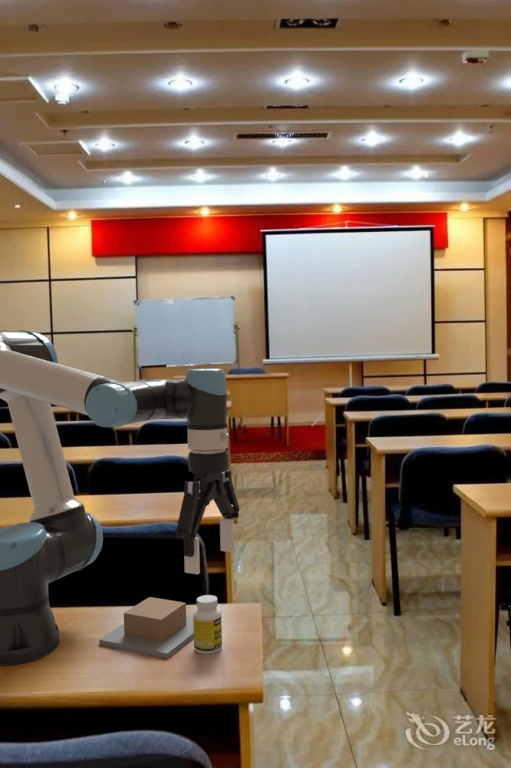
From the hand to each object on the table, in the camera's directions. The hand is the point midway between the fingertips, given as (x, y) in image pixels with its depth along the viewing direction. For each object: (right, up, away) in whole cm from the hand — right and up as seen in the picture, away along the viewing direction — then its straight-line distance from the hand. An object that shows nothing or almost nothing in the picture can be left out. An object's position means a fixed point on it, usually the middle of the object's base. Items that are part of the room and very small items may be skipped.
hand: (210, 561), depth 121 cm
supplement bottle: (-1, -18, +2) cm, 18 cm away
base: (-12, -17, +9) cm, 23 cm away
